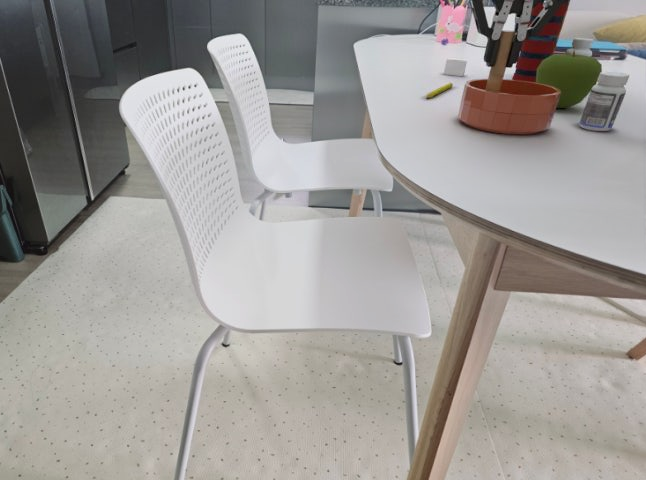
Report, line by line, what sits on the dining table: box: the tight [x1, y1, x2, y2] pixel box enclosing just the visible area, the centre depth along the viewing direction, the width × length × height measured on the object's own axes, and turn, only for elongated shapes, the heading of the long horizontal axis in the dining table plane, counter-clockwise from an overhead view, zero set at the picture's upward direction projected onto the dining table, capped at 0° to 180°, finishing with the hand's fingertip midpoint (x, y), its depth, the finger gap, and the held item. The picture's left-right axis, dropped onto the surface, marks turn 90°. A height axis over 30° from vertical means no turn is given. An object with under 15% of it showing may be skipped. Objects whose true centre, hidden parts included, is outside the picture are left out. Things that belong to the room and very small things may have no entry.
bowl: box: [457, 78, 561, 135], centre depth 77 cm, size 14×14×6 cm
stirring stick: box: [485, 29, 515, 93], centre depth 74 cm, size 2×2×12 cm
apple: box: [536, 51, 603, 109], centre depth 87 cm, size 11×10×10 cm
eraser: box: [443, 58, 468, 77], centre depth 119 cm, size 1×5×4 cm, turn 62°
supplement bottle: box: [564, 37, 594, 57], centre depth 108 cm, size 5×5×10 cm
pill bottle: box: [578, 71, 630, 132], centre depth 75 cm, size 5×5×8 cm
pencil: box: [426, 82, 454, 99], centre depth 100 cm, size 16×1×1 cm, turn 146°
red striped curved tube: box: [511, 0, 571, 82], centre depth 104 cm, size 25×7×25 cm, turn 150°
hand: (498, 66), depth 74 cm, fingers closed on stirring stick, 2 cm apart
